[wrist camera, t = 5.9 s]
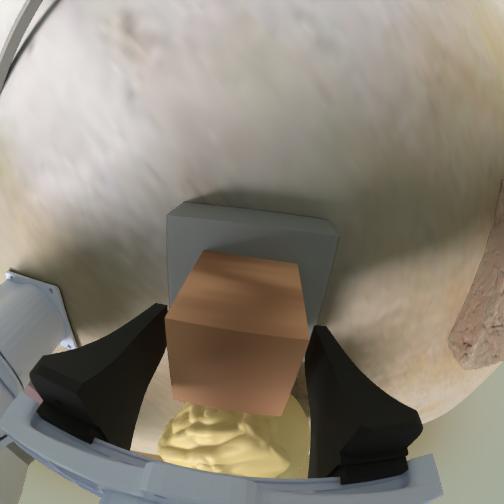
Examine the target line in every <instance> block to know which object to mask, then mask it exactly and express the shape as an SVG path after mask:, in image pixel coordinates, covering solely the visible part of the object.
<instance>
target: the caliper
mask: <svg viewBox="0 0 504 504" xmlns="http://www.w3.org/2000/svg"><path fill="white" fill-rule="evenodd" d="M42 1H43V0H26V2H25V4H24V5H23V7H22V9H21V11H20V12H19V14H18V16H17V18H16V20H15V22H14V24H13V26H12V28H11V30H10V32H9V34H8V37H7V39H6V41H5V43H4V46H3V48H2V51H1V53H0V93H1V90H2V87H3V84H4V81H5V78H6V75H7V73H8V70H9V67H10V65H11V62H12V60H13V57H14V55H15V53H16V50H17V48H18V46H19V43H20V41H21V39H22V37H23V35H24V33H25V31H26V29H27V27H28V25H29V24H30V22H31V20H32V18H33V16H34V14H35V13H36V11H37V9H38V8H39V6H40V4H41V3H42Z"/></svg>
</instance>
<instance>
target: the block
mask: <svg viewBox="0 0 504 504" xmlns="http://www.w3.org/2000/svg"><path fill="white" fill-rule="evenodd" d="M165 329H166V340H167V351H168V360H169V369H170V377H171V385H172V392H173V399H174V400H178V401H183V402H187V403H192V404H196V405H202V406H207V407H212V408H218V409H224V410H230V411H237V412H245V413H253V414H262V415H273V416H281V415H282V413H283V411H284V408H285V406H286V403H287V401H288V398H289V396H290V393H291V391H292V388H293V385H294V383H295V380H296V377H297V375H298V372H299V369H300V367H301V364H302V361H303V358H304V355H305V352H306V350H307V347H308V344H309V341H310V337H309V331H308V324H307V318H306V311H305V305H304V299H303V293H302V287H301V281H300V275H299V270H298V264H297V263H290V262H282V261H275V260H268V259H261V258H255V257H248V256H241V255H234V254H227V253H220V252H213V251H206V250H203V252H202V253H201V255H200V257H199V258H198V260H197V262H196V264H195V265H194V267H193V269H192V270H191V272H190V274H189V276H188V277H187V279H186V281H185V282H184V284H183V286H182V288H181V289H180V291H179V293H178V295H177V297H176V298H175V300H174V302H173V304H172V305H171V307H170V309H169V311H168V313H167V314H166V316H165Z"/></svg>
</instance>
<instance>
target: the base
mask: <svg viewBox="0 0 504 504" xmlns="http://www.w3.org/2000/svg"><path fill="white" fill-rule="evenodd" d="M338 240H339V235H338V234H337V232H336V230H335V229H334V227H333V226H332V224H331V223H330V221H329V220H326V219H320V218H313V217H306V216H299V215H292V214H285V213H277V212H269V211H262V210H253V209H245V208H237V207H228V206H218V205H209V204H199V203H188V202H183V203H182V204H181V205H179V206H178V207H177V208H175V209H174V210H173V211H171V212H170V213H169V214H167V271H168V292H169V308H170V307H171V305H172V304H173V302H174V300H175V298H176V297H177V295H178V293H179V291H180V289H181V288H182V286H183V284H184V282H185V281H186V279H187V277H188V276H189V274H190V272H191V270H192V269H193V267H194V265H195V264H196V262H197V260H198V258H199V257H200V255H201V253H202V252H203V250H206V251H213V252H220V253H227V254H234V255H241V256H248V257H255V258H261V259H268V260H275V261H282V262H290V263H297V264H298V270H299V275H300V281H301V287H302V293H303V299H304V305H305V311H306V318H307V324H308V331H309V337H311V334H312V330H313V327H314V325H316V324H317V320H318V317H319V314H320V310H321V307H322V303H323V300H324V296H325V292H326V289H327V285H328V281H329V277H330V274H331V270H332V266H333V262H334V257H335V253H336V249H337V245H338ZM305 353H306V352H305ZM304 361H305V355H304V358H303V361H302V362H304Z"/></svg>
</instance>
